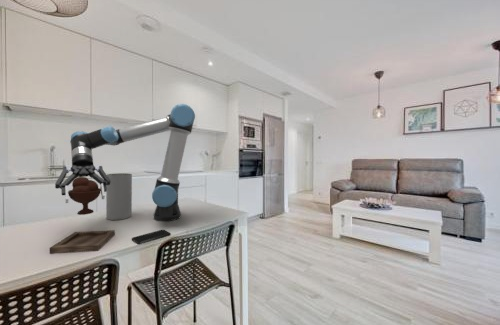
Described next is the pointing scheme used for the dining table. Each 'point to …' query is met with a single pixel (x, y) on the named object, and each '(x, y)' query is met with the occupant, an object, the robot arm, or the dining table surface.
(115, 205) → the cylinder vase
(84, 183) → the ice cream bowl
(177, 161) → the robot arm
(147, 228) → the dining table surface
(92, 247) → the walnut tray
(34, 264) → the dining table surface
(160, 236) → the phone
